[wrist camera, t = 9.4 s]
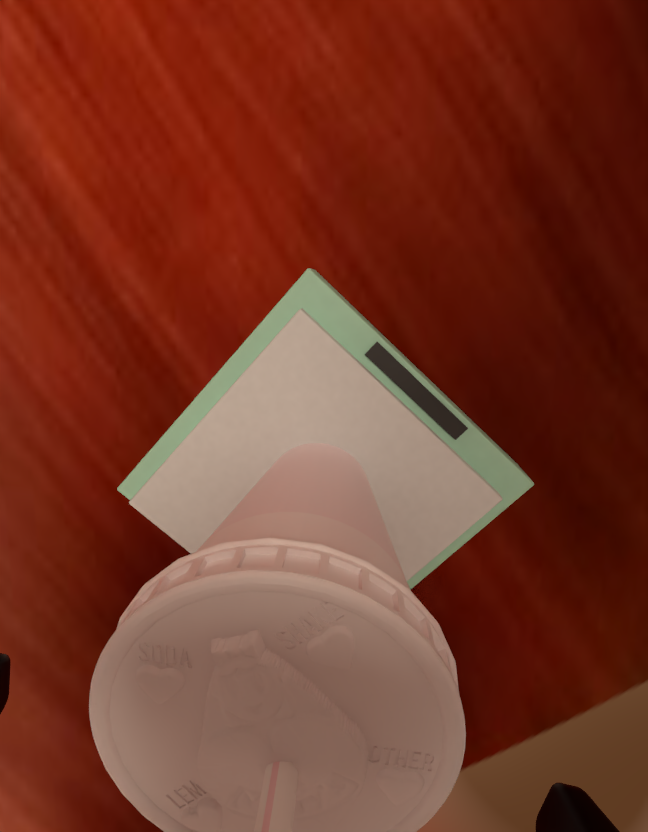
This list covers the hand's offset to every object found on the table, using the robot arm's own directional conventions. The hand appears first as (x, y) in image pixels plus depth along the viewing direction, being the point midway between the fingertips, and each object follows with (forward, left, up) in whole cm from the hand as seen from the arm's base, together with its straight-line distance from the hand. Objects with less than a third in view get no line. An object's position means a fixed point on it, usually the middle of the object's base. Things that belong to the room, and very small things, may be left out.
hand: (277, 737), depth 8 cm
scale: (0, 0, -12) cm, 12 cm away
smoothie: (0, 0, -10) cm, 10 cm away
